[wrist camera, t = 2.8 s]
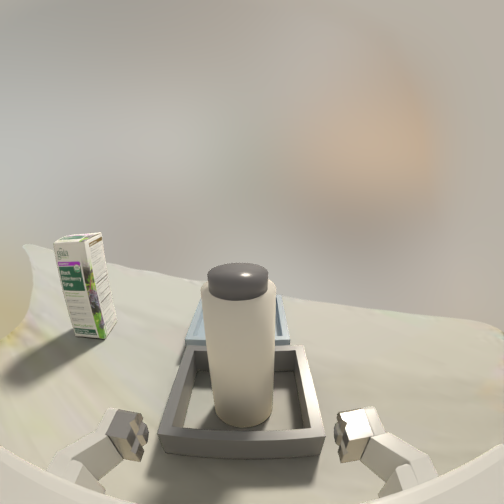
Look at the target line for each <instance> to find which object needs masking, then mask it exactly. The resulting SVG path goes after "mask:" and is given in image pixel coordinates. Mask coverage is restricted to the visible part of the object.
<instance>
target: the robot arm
mask: <svg viewBox="0 0 504 504" xmlns="http://www.w3.org/2000/svg"><path fill="white" fill-rule="evenodd" d="M142 420H143V417H142V415H141V413H135V412H130V411H125V410H120V409H115V408H110V407H109V408H108V409H107V410H106V412H105V413H104V415H103V417H102V419H101V421H100V423H99V425H98V427H97V429H96V431H95V432H91V433H89V434H87V435H86V436H84V437H82V438H80V439H79V440H77V441H75V442H73V443H72V444H70V445H68V446H66V447H65V448H63V449H61V450H59V451H57V452H56V453H55V455H54V457H53V459H52V461H51V462H50V464H49V466H48V468H47V470H46V471H45V470H43V469H41V468H39V467H37V466H35V465H33V464H31V463H29V462H28V461H26V460H24V459H22V458H20V457H19V456H17V455H15V454H13V453H12V452H10V451H8V450H7V449H5V448H4V447H2V446H1V445H0V504H138V503H134V502H130V501H126V500H122V499H119V498H115V497H112V496H109V495H105V491H106V490H105V488H104V487H103V486H102V485H101V484H100V483H99V482H98V481H99V480H100V479H101V478H102V477H104V476H105V475H106V474H107V473H108V472H110V471H111V470H112V469H113V468H114V467H116V466H117V465H118V464H119V463H120V462H121V461H123V459H126V460H132V461H137V462H141V459H142V456H143V453H144V450H143V447H142V446H144V445H145V444H147V441H148V435H149V432H148V428H147V425H146V424H145V423H143V422H142ZM337 421H338V422H337V423H336V424H335V426H334V439H335V443H336V444H337V445H338V446H339V449H338V455H339V458H340V462H341V463H346V462H352V461H357V460H360V461H361V462H362V463H363V464H364V465H365V466H367V467H368V468H369V469H370V470H371V471H373V472H374V473H375V474H376V475H377V476H378V477H380V478H381V479H382V480H383V481H385V482H386V484H385V485H384V486H383V488H382V489H381V490H380V492H379V493H378V496H379V498H378V499H374V500H371V501H367V502H363V503H359V504H504V444H499V445H497V446H495V447H493V448H492V449H490V450H489V451H487V452H485V453H484V454H482V455H480V456H478V457H477V458H475V459H473V460H471V461H469V462H467V463H466V464H464V465H462V466H460V467H458V468H456V469H454V470H452V471H450V472H448V473H445V474H443V475H441V476H438V474H437V471H436V469H435V467H434V465H433V463H432V461H431V459H430V457H429V455H427V454H426V453H424V452H422V451H420V450H419V449H417V448H415V447H413V446H412V445H410V444H408V443H406V442H405V441H403V440H401V439H400V438H398V437H396V436H395V435H393V434H391V433H390V432H388V433H386V431H385V429H384V427H383V425H382V422H381V420H380V418H379V416H378V413H377V411H376V409H375V407H374V406H370V407H365V408H358V409H353V410H348V411H342V412H339V413H338V414H337Z"/></svg>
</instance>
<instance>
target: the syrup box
mask: <svg viewBox="0 0 504 504" xmlns="http://www.w3.org/2000/svg"><path fill="white" fill-rule="evenodd" d="M53 245H54V252H55V258H56V263H57V268H58V272H59V277H60V281H61V285H62V290H63V294H64V298H65V301H66V305H67V309H68V312H69V316H70V319H71V323H72V327H73V330H74V333H75V336H76V337H79V336H82V337H92V338H101V339H106V337H107V336H108V334H109V333H110V331H111V330H112V328H113V327H114V325H115V323H116V322H117V316H116V312H115V308H114V303H113V298H112V294H111V289H110V283H109V278H108V273H107V267H106V261H105V254H104V247H103V240H102V234H101V232H100V233H92V234H78V235H68V236H65V237H63V238H61V239H59V240H57V241H56V242H55V243H54V244H53Z"/></svg>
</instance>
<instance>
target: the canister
mask: <svg viewBox="0 0 504 504" xmlns="http://www.w3.org/2000/svg"><path fill="white" fill-rule="evenodd" d="M207 275H208V282H206V283H205V284H204V285H203V286H202V287H201V300H202V310H203V320H204V329H205V338H206V346H207V354H208V362H209V370H210V377H211V384H212V391H213V398H214V404H215V411H216V414H217V416H218V417H219V418H220V419H221V420H222V421H223V422H224V423H226V424H228V425H231V426H234V427H241V428H245V427H252V426H256V425H259V424H261V423H262V422H264V421H265V420H266V419H267V418H268V417H269V416H270V414H271V412H272V405H273V381H274V353H275V316H276V286H275V284H274V283H273V282H272V281H270V280H269V279H268V271H267V270H266V269H265V268H264V267H262V266H259V265H256V264H250V263H231V264H224V265H220V266H217V267H214V268H212V269H211V270H210V271H209V272H208V274H207Z"/></svg>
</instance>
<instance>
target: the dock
mask: <svg viewBox="0 0 504 504" xmlns="http://www.w3.org/2000/svg"><path fill="white" fill-rule="evenodd" d="M197 371H210V370H209V362H208V354H207V346H198V345H187V346H186V349H185V352H184V355H183V358H182V361H181V363H180V366H179V369H178V372H177V375H176V378H175V381H174V384H173V387H172V390H171V393H170V396H169V399H168V402H167V405H166V408H165V411H164V414H163V417H162V420H161V423H160V426H159V429H158V432H157V435H158V437H159V439H160V442H161V444H162V446H163V448H164V451H165V453H171V454H179V455H187V456H197V457H209V458H227V459H274V458H292V457H304V456H314V455H320V453H321V450H322V447H323V443H324V440H325V437H326V435H325V431H324V426H323V422H322V418H321V414H320V410H319V405H318V401H317V397H316V393H315V389H314V385H313V381H312V377H311V373H310V369H309V365H308V361H307V357H306V353H305V349H304V345H283V346H275V353H274V372H277V371H294V375H295V380H296V386H297V392H298V397H299V403H300V409H301V415H302V421H303V427H304V429H294V430H275V431H223V430H205V429H192V428H183V425H184V421H185V417H186V413H187V409H188V405H189V401H190V397H191V393H192V389H193V385H194V381H195V378H196V374H197Z"/></svg>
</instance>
